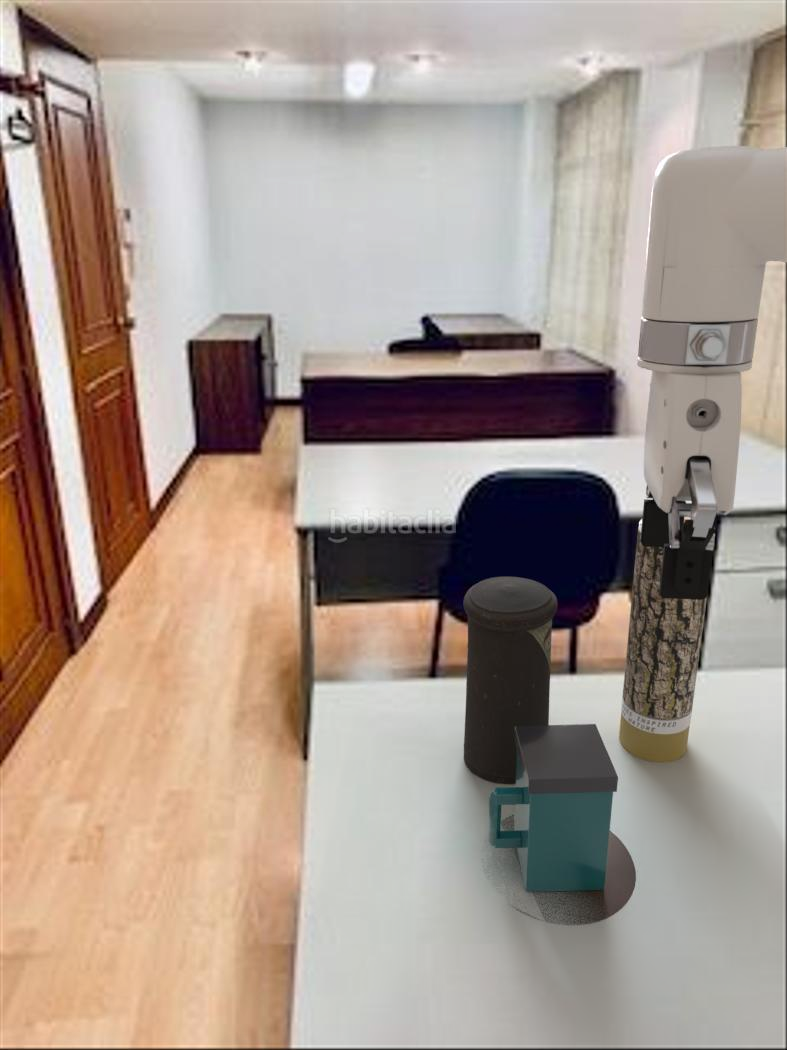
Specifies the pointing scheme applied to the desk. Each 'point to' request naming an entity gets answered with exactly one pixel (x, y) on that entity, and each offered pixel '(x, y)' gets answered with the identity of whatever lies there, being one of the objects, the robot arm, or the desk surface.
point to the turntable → (625, 865)
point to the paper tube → (659, 664)
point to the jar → (558, 807)
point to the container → (505, 670)
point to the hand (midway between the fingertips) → (670, 569)
